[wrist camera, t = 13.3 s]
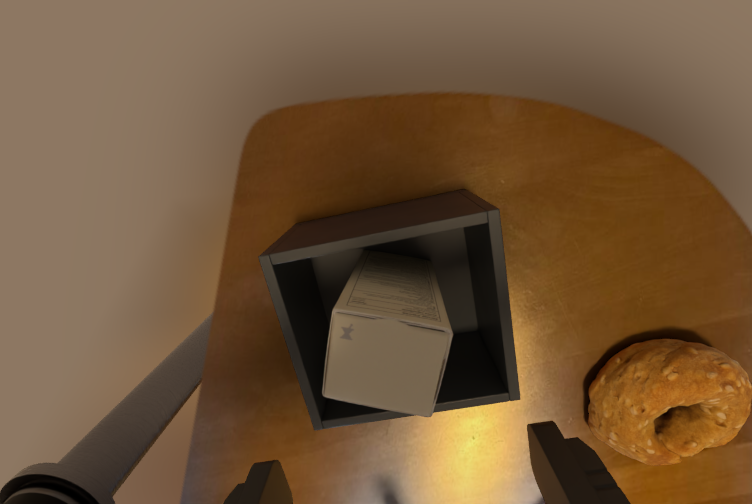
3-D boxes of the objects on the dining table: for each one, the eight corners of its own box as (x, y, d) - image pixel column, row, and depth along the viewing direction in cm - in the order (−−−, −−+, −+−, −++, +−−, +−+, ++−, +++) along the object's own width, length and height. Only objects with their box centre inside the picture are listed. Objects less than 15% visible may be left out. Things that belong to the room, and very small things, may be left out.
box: (354, 303, 26) (312, 397, 15) (363, 247, 25) (325, 305, 14) (425, 316, 26) (433, 423, 15) (437, 260, 25) (455, 331, 14)
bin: (332, 357, 28) (314, 431, 21) (294, 223, 25) (257, 256, 18) (485, 331, 27) (520, 400, 20) (465, 188, 24) (499, 208, 17)
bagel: (550, 395, 29) (581, 442, 24) (663, 302, 26) (722, 336, 22) (628, 458, 30) (670, 514, 26) (742, 377, 28) (812, 423, 23)
